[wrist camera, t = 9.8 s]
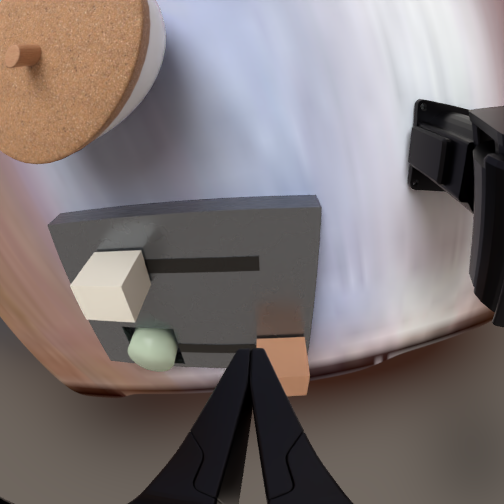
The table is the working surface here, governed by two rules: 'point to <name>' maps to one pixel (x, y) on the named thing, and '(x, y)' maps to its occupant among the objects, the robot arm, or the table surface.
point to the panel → (206, 270)
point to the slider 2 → (288, 362)
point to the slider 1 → (112, 286)
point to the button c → (153, 348)
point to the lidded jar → (73, 71)
